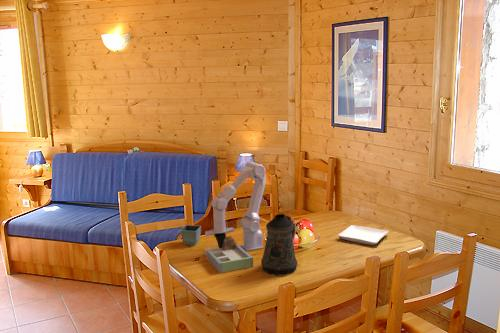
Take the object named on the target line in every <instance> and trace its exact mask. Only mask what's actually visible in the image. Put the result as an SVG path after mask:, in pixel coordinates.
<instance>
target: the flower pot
mask: <svg viewBox="0 0 500 333" xmlns="http://www.w3.org/2000/svg"><path fill="white" fill-rule="evenodd" d="M179 232H180V236H181V239H182V242H183V243H184V245H185V246H192V247H193V246H196V245H197V244H198V242H199V240H200V238H201V233H202V226H201V225H192V224H191V225H190V224H186V225H184V226H183V227H182V228H181V229H180V231H179Z"/></svg>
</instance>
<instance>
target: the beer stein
mask: <svg viewBox="0 0 500 333" xmlns="http://www.w3.org/2000/svg"><path fill="white" fill-rule="evenodd" d="M265 228H266V231H267V233H266V239H265V245H264V250H263V255H262V258H261V260H260V263H261V269H262V271H263V272H264V273H266V274H268V275H271V276H272V275H273V276H277V277H278V276H287V275H291V274H293V273H295V272H296V271H297V266H298V260H297V257H296V254H295V245H294V238H295V237H296V236H295V234H296V224H295V223H294V221H293V220H292V217H291V216H290V215H289V216H288V215H285V214H284V213H283V214H282V213H280V214H276V215H274V217H273V218H272V219H271V220H270V221H268V222H267V223H266V225H265Z"/></svg>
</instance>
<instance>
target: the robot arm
mask: <svg viewBox="0 0 500 333" xmlns="http://www.w3.org/2000/svg"><path fill="white" fill-rule="evenodd" d="M266 172H267V170H266V167H265V166H264V165H263V164H262V163H257V162H254V161H248V162H247V163H246V164H245V165H244V166H242V170H241V172H240V173H239V174H238V175H237V176H236V177H235V179H234V180H233V182H231V184H227V185H225V186H224V187H223V189H222V190H221V192H219V194H217V196H214V197H213V198H212V200H211V202H210V206H211V207H212V208H213V209H212V210H213V212H212V213H213V215H212V216H213V229H210V230H206V231H204V236H206V237H209V236H214V238H215V239H216V242H217V245H218V246H217V247H219V248H222V244H223V241H224V239H225V237H227V233H235V227H233V226H232V227H226V208H228V203H229V202H230V201H231V199H232V198H233V197H234V196H235V195H236V194H237V189H238V188H239V187H240V186H241V185H242V184H243V183H244V182H245V181H247V179H250V178H252V179H253V181H254V183H253V188H252V192H251V195H250V201H249V204H248V209H247V211H246V212H244V213H243V217H242V218H241V220H240V226H241V227H242V234H243V235H242V237H243V241H242V242H243V244H240V247H241V248H242V249H244V250H245V251H246V252H247V251H252V250H258V249H263V248H264V246H263V245H264V244H263V233H262V232H263V231H262V230H261V229H260V227H261V226H260V225H261V223H260V222H261V219H260V218H261V217H260V215H259V211H260V208H261V207H260V206H261V203H262V199H263V195H264V191H265V188H266V187H265V186H266V183H267V175H266Z"/></svg>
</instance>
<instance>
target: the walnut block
mask: <svg viewBox="0 0 500 333" xmlns="http://www.w3.org/2000/svg"><path fill="white" fill-rule="evenodd" d="M234 242H235V238H234V237H232V236H231V235H230V236H226V237H225V239H224V241H223V244H222V248H223V249H224V250H231V249H234Z"/></svg>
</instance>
